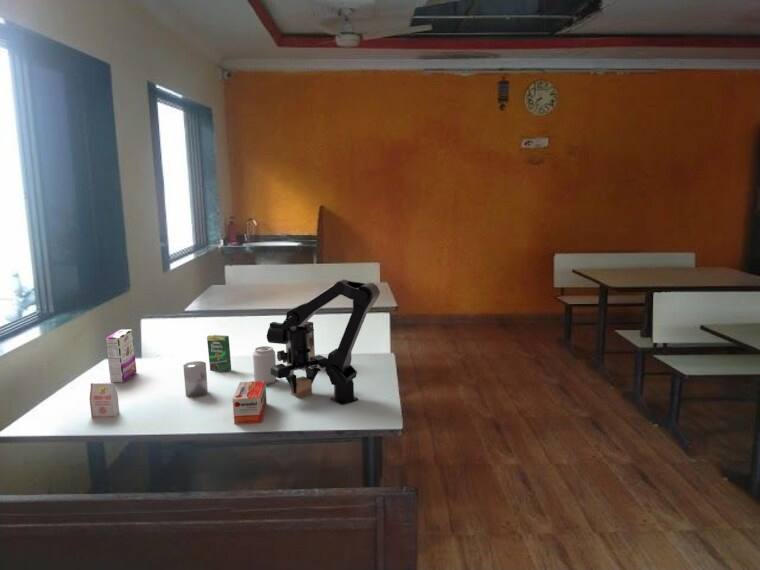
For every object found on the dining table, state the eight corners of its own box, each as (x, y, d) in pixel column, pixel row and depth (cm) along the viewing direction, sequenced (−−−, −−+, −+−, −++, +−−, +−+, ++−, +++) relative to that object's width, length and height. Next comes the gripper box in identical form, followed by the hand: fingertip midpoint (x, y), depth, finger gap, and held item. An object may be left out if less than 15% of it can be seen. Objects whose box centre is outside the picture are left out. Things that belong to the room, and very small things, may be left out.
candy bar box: (123, 372, 220) (119, 329, 217) (137, 372, 220) (133, 329, 217) (109, 383, 209) (104, 337, 206) (123, 383, 209) (119, 337, 206)
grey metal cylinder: (211, 394, 197) (209, 364, 195) (190, 399, 192) (188, 369, 190) (202, 388, 202) (200, 359, 200) (182, 393, 198) (180, 364, 196)
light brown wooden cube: (312, 394, 195) (311, 380, 194) (298, 398, 192) (298, 383, 191) (304, 390, 199) (303, 376, 198) (290, 394, 196) (290, 379, 195)
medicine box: (240, 405, 187) (239, 380, 186) (267, 404, 188) (265, 379, 186) (233, 425, 172) (232, 398, 171) (262, 423, 173) (260, 397, 172)
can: (278, 378, 211) (277, 345, 209) (273, 385, 204) (271, 351, 202) (258, 377, 212) (256, 344, 210) (251, 384, 205) (249, 351, 203)
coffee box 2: (303, 360, 231) (301, 319, 228) (315, 363, 227) (314, 322, 224) (286, 366, 224) (284, 324, 221) (298, 369, 220) (296, 327, 217)
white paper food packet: (97, 412, 183) (94, 381, 181) (119, 412, 183) (116, 381, 181) (91, 417, 179) (88, 385, 177) (114, 417, 179) (110, 385, 177)
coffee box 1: (208, 370, 221) (206, 335, 218) (213, 367, 223) (210, 333, 221) (227, 372, 218) (225, 337, 216) (231, 370, 221) (229, 335, 218)
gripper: (310, 335, 204) (312, 378, 207) (261, 345, 193) (263, 391, 196) (328, 341, 195) (330, 387, 198) (278, 353, 184) (280, 401, 187)
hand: (301, 391), depth 195 cm, fingers closed on light brown wooden cube, 5 cm apart
